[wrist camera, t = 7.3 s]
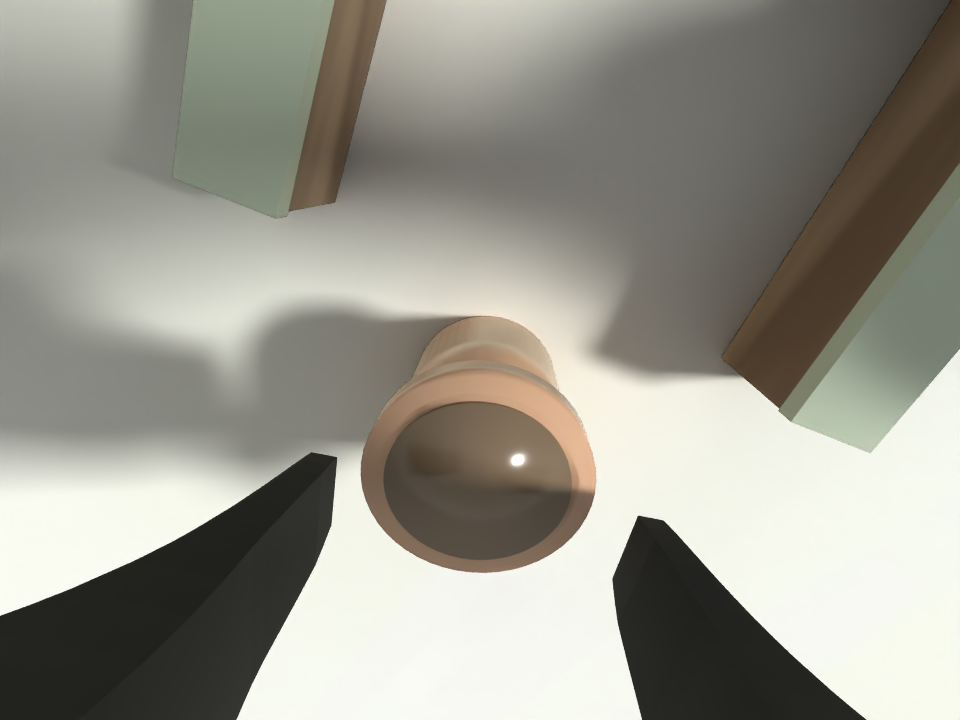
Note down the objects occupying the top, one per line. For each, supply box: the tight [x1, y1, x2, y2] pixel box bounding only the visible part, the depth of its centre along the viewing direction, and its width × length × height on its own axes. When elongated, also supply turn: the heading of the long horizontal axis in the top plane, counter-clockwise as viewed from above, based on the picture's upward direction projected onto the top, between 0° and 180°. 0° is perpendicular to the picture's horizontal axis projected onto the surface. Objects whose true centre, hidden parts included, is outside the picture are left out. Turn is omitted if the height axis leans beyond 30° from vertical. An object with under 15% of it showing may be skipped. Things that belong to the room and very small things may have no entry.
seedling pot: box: [361, 316, 596, 573], centre depth 14 cm, size 6×6×6 cm
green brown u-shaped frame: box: [172, 0, 960, 453], centre depth 11 cm, size 18×14×5 cm
